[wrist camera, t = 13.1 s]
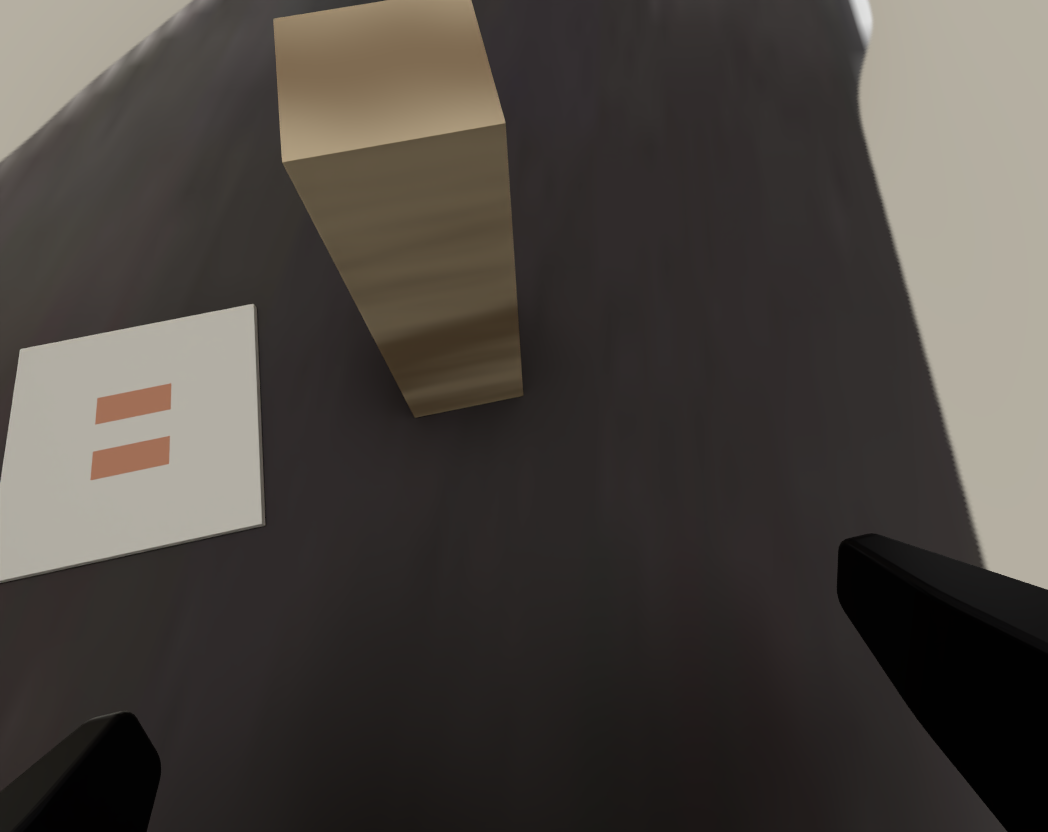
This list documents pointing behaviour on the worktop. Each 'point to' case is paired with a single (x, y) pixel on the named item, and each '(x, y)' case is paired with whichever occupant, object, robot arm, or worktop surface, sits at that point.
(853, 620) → the robot arm
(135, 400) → the card
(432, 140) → the oak block
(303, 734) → the worktop surface
